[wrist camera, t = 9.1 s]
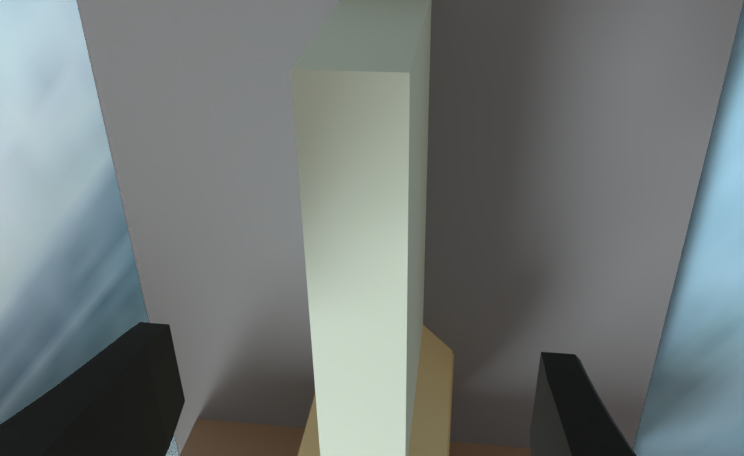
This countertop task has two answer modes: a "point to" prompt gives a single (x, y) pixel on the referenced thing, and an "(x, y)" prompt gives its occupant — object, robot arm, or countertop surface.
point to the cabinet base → (443, 197)
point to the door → (369, 233)
